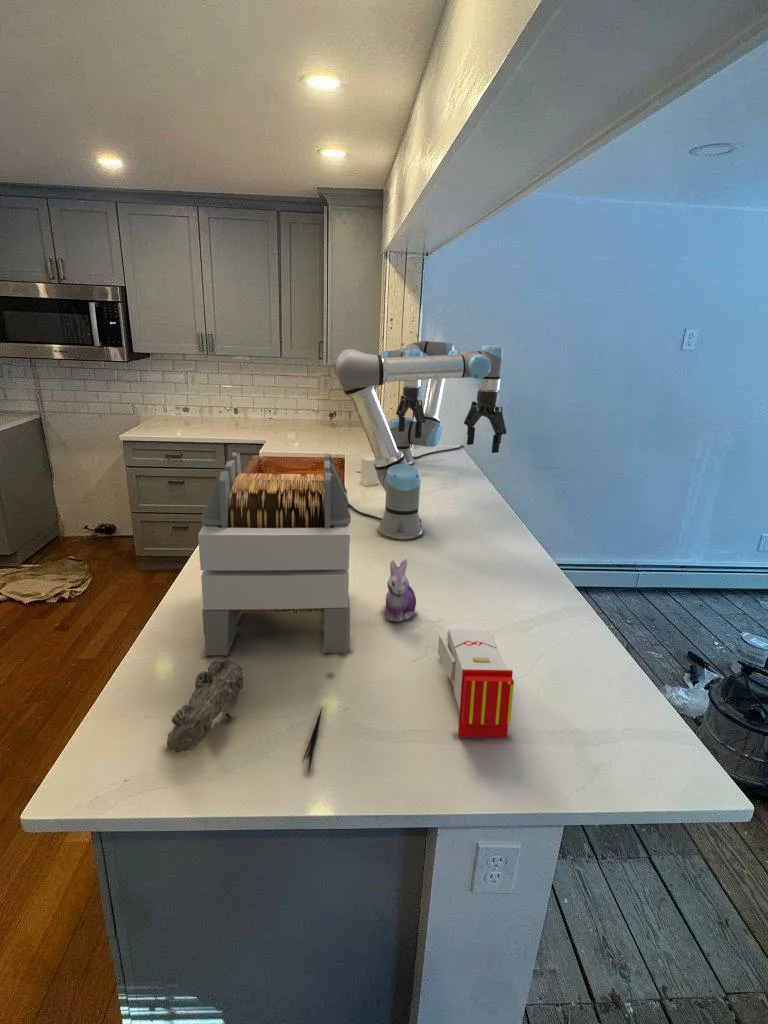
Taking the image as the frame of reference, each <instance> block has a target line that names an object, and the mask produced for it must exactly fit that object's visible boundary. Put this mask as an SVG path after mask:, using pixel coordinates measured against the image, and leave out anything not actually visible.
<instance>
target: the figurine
mask: <svg viewBox="0 0 768 1024" xmlns="http://www.w3.org/2000/svg"><path fill="white" fill-rule="evenodd" d="M407 567H408V559H406V558H404V559H403V560H402V561H401V563H400V565H399V566H398V565H397V563H396V562H395V561H394V560H393V559H391V560H390V561H389V570H390V576H389V578H388V579H387V589H388V591H387V592H386V594H385V595H386V596H385V607H384V615H385V616H386V620H387V621H391V622H395V623H400V622H402V621H406V620H409V619H410V618H411V617H413V616H414V615H415V610H416V606H417V597H416V593H415V591H414V590H413V587H411V586H410V582H409V579H408V577H407V574H406V571H407Z"/></svg>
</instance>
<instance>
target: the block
mask: <svg viewBox="0 0 768 1024" xmlns="http://www.w3.org/2000/svg"><path fill="white" fill-rule="evenodd" d="M374 461H375V456H366V457H361V463H360V464H361V466H360V468H361V469H360V484H361V485H362V486H366V487H373V486H377V485H379V480H378V475H377V472H376V470H375V467H374V464H373V463H374Z"/></svg>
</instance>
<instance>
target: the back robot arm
mask: <svg viewBox="0 0 768 1024" xmlns="http://www.w3.org/2000/svg"><path fill="white" fill-rule="evenodd" d="M454 350H456V349H455V345H454V343H452V342H446V341H429V340H421V341H415V342H412V343H409V344H407V345H405V347H402V348H399V349H395V350H382V351H380V352H379V355H382V356H384V357H385V358H391V357H414V356H437V355H448V353H449V352H450V351H454ZM445 381H446V379H430V380H427V381H426V386H425V392H424V396H423V400H422V399H420V400H419V397H420V396H421V383H422V380H412V381H402V383H403V388H402V395H400V400H399V403H398V406H397V409H396V412H395V414H396V416H397V417H394V418H391V419H389V421H388V426H389V429H390V431H391V434H392V437H393V439H394V442H395V445H396V447H397V450H399V451H402V452H403V454H404V456H405V459H406V462H407V464H408V465H411V466H412V465H413V464H414V459H419V458H420V459H421V458H422V457H425V456H428V455H433V454H437V453H443V452H444V453H445V452H450V451H455V450H459V449H461V448H464V447H465V446H464V445H463V444H460V445H459V446H458V447H452V448H447V449H441V450H435V451H430V452H426V453H422V454H420V455H417V456H413V454H412V449H411V445H412V446H421V447H426V448H434V447H437V446H438V444H439V443H440V441H441V438H442V435H443V425H442V424H441V420H440V419H439V413H440V408H441V404H442V399H443V392H444V389H445V388H444V387H445ZM409 409H410V410H411V411H412V413H413V416H414V419H415V421H413V418H412V417H410V416H406V413H407V412H408V410H409Z"/></svg>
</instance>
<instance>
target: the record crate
mask: <svg viewBox="0 0 768 1024" xmlns="http://www.w3.org/2000/svg"><path fill="white" fill-rule="evenodd" d="M241 463H242V462H241V453H240V452H235V451H233V452H231V455H230V457H229V459H227V460H226V463H225V466H224V468H223V470H222V471H220V474H219V475H218V477H217V479H216V482H215V483H214V486H213V489H212V491H211V494H210V495H209V498H208V499H207V502H206V505H205V507H204V509H203V511H202V514H201V517H200V520H201V524H202V527H201V529H200V530H199V532H198V535H197V538H198V550H199V552H198V553H199V563H200V565H199V567H200V571H202V573H201V575H200V580H201V581H200V582H201V594H202V605H203V607H202V609H201V610H202V611H201V617H202V629H203V638H204V639H203V640H204V649H205V650H204V651H205V652H204V655H205V656H206V657H212V656H228V654H229V652H230V650H231V647H232V645H233V643H234V640H235V638H236V635H237V632H238V623H240V620H241V617H242V614H244V613H250V614H251V613H253V614H254V613H257V614H258V613H298V612H301V613H302V612H308V613H309V612H322V614H323V654H344V655H346V654H347V653H349V652H350V639H351V604H350V595H349V594H350V593H349V586H350V585H349V584H350V572H349V571H350V570H349V569H350V549H351V548H350V547H351V545H350V542H351V533H350V532H351V531H350V526H349V525H350V524H351V520H352V516H351V515H352V514H351V507H349V504H350V502H349V496H348V490H347V488H346V486H345V484H344V482H343V480H342V478H341V474H340V473H339V471H338V469H337V466H336V465H335V462H334V460H333V458H332V455H331V454H330V453H326V452H324V453H323V473H322V474H321V473H318V474H316V475H315V474H314V473H306V474H303V475H302V474H301V473H288V474H287V473H280V474H273V473H244V472H243V473H242V466H241Z"/></svg>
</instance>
